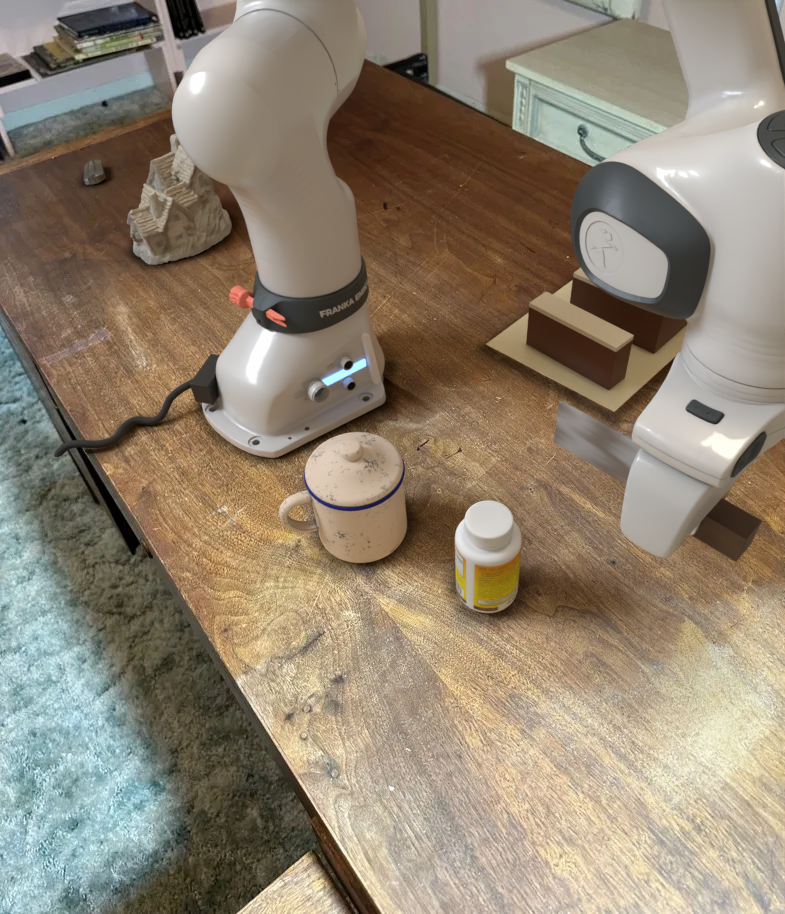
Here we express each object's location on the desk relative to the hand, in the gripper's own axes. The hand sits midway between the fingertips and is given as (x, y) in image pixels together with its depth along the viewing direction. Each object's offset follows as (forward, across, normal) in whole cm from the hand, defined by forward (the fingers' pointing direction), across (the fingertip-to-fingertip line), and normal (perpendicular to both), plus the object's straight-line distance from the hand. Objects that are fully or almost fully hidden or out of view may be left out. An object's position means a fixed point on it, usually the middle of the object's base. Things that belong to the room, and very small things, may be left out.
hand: (699, 511), depth 60 cm
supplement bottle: (+11, +11, -12) cm, 20 cm away
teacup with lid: (+11, +15, -26) cm, 32 cm away
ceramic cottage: (+11, -7, -88) cm, 89 cm away
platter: (+11, -26, -25) cm, 38 cm away
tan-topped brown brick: (+10, -19, -24) cm, 32 cm away
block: (+10, -8, -115) cm, 116 cm away
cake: (+10, -30, -24) cm, 40 cm away
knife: (+2, 0, -5) cm, 5 cm away
